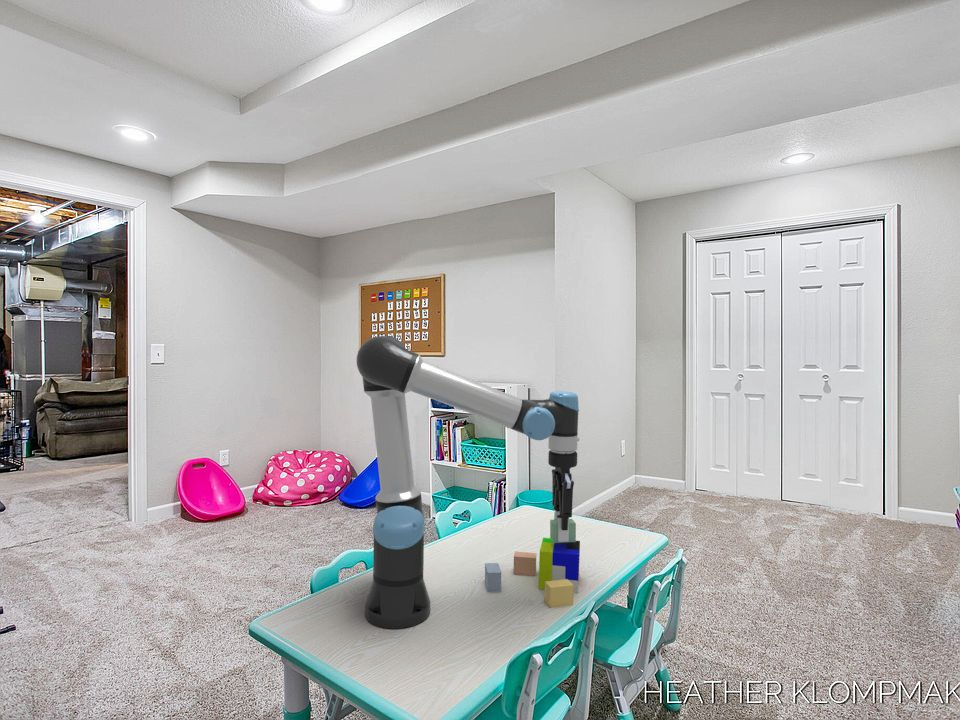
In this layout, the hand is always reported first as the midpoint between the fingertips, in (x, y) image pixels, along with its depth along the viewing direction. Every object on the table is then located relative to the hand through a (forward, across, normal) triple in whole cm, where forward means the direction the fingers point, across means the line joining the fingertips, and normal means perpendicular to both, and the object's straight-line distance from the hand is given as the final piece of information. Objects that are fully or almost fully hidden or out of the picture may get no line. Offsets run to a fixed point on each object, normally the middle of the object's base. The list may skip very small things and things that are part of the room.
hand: (561, 538), depth 147 cm
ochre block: (+12, -11, +3) cm, 17 cm away
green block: (0, 0, 0) cm, 1 cm away
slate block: (+12, -1, +18) cm, 22 cm away
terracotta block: (+12, +7, +8) cm, 16 cm away
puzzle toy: (+12, 0, 0) cm, 12 cm away
